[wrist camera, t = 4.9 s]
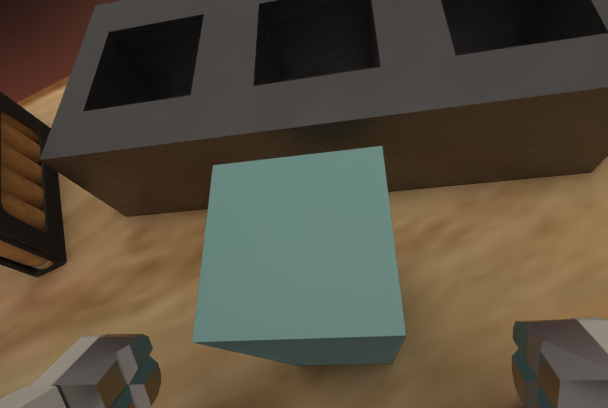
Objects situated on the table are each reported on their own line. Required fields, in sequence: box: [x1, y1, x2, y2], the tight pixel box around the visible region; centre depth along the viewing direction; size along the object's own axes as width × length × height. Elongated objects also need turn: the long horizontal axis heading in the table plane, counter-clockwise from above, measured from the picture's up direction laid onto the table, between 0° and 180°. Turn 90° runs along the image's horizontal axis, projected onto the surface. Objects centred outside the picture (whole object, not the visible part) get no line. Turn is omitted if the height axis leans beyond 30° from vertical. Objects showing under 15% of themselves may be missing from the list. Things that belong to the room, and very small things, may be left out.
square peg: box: [192, 146, 406, 366], centre depth 12 cm, size 4×4×10 cm
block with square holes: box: [40, 0, 608, 216], centre depth 19 cm, size 24×10×6 cm, turn 91°
